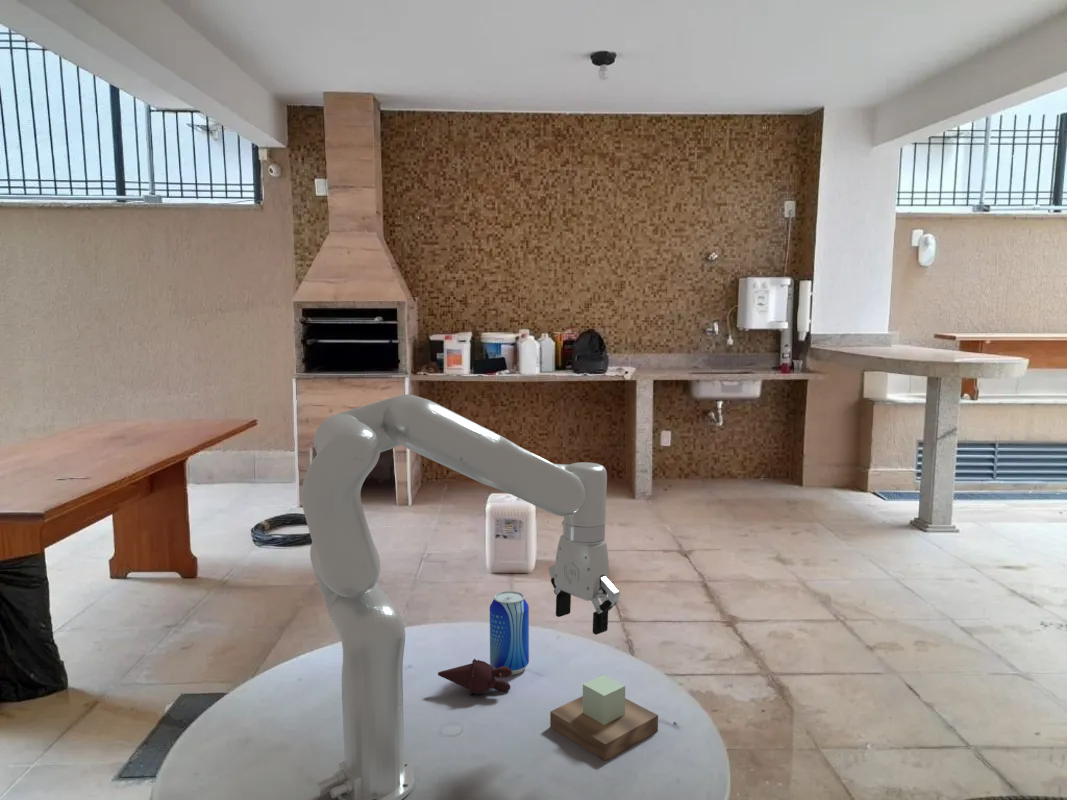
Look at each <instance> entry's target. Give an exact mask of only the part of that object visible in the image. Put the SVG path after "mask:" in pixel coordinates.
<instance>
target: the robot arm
mask: <svg viewBox="0 0 1067 800" xmlns="http://www.w3.org/2000/svg"><path fill="white" fill-rule="evenodd" d="M399 446H402V447H404V448H406V449H408V450H409V451H412V452H413V453H416V454H417V455H420V456H422V457H424V458H426V459H429V460H431V461H433V462H436V463H437V464H440V465H442V466H445V467H446V468H449V469H450V470H453V471H454V472H457V473H459V474H462V475H463V476H465V477H468V478H470V479H472V480H474V481H476V482H478V483H480V484H483V485H485V486H488V487H490V488H494V489H497V490H499V491H502V492H505V493H507V494H510V495H511V496H513V497H516V498H518V499H520V500H522V501H525V502H527V503H528V504H530V505H533V506H535V507H538V508H539V509H542V510H543V511H546V512H548V513H550V514H551V515H553V516H557V517H563V519H562V522H561V525H562V527H563V528H562V529H563V530H562V534H561V535H560V537H559V541H558V543H557V548H556V556H555V564H554V565H551V566H548V573H549V576H550V578H551V579H550V582H551V585H552V587H553V588H554V589H553V594H554V595H555V596H556V597H555V616H556V617H557V618H561V617H563V616H567V615H569V614H570V613H571V606H572V605H571V604H572V603H571V602H572V601H571V600H572V599H571V598H572V596H574V597H575V598H579V599H581V600H584V601H587V602H588V601H589V602H590V601H591V602H592V604H593V607H594V609H595V611H593V613H592V614H593V615H592V634H593V635H595V636H596V635H598V634H602V633H605V632H607V631H608V628H609V627H608V625H609V611H611V610H612V608H613V607H614V606H616V603H617V601H618V599H619V597H620V594H621V593H620V591H619V590H618V589H617V588H616V587H615V585H614V584H613V583H612V582H611V580H610V567H609V565H610V564H609V553H608V545H607V542H606V538H605V537H606V516H607V515H606V512H607V511H606V510H607V485H608V484H607V483H608V473H607V470H606V467H605V466H604V465H601V464H599V463H597V462H596V463H595V462H584V461H583V462H581V461H579V462H573V463H571V464H569V463H568V464H564V463H561V464H560V463H553V462H551V461H549V460H547V459H545V458H543V457H542V456H539V455H537V454H535V453H533V452H531V451H529V450H527V449H525V448H523V447H521V446H519V445H518V444H516V443H514V442H512V441H511V440H509V439H507V438H506V437H504V436H502V435H500V434H498V433H497V432H494V431H492V430H490V429H488V428H486V427H484V426H482V425H480V424H479V423H476V422H474V421H472V420H470V419H469V418H466V417H464V416H462V415H460V414H458V413H456V412H455V411H453V410H450V409H448V408H446V407H444V406H443V405H441V404H439V403H437V402H434V401H433V400H430V399H427V398H424V397H420V396H419V395H414V394H400V395H395V396H391V397H389V398H385V399H383V400H379V401H375V402H373V403H369V404H365V405H362V406H360V407H355V408H353V409H349V410H346V411H342V412H339V413H336V414H334V415H331V416H330V417H327V418H326V419H324V420H323V421H322V422H321V423H320V424H319V425H318V426H317V428H316V430H315V433H314V437H313V447H314V450H315V452H316V455H315V456H314V458H313V459H312V461H311V462H310V464H309V466H308V468H307V471H306V473H305V475H304V476H305V477H304V478H303V482H302V486H301V505H302V509H303V510H302V511H303V513H304V516H305V521H306V524H307V528H308V531H309V536H310V539H311V545H310V551H309V555H310V556H309V557H310V562H311V566H312V569H313V571H314V575H315V578H316V581H317V584H318V586H319V587H318V588H319V589H320V592H321V595H322V597H323V601H324V604H325V607H326V609H327V612H328V614H329V619H330V621H331V622H332V624H333V627H334V628H335V631H336V633H337V634H338V638H339V639H340V642H341V647H342V665H341V703H342V728H343V729H342V731H343V758H344V759H343V761H341V762H339V763H337V764H338V765H337V766H338V767H337V768H338V769H337V771H335V772H334V773H333V775H332V776H330V777H328V778H327V777H326V778H324V779H322V780H320V781H317V782H315V785H314V788H315V793H316V794H317V796H322V795H324V794H327V793H330V796H331V799H335V798H337V799H338V800H403V799H404V798H406V797H407V796H408V795H409V794H410V792H411V791H412V790H413V787H414V785H415V771H414V768H413V767H412V766H411V764H409V762H407V761H405V730H404V729H405V727H404V725H405V724H404V723H405V722H404V689H403V688H404V685H403V682H404V679H403V666H404V654H405V652H404V651H405V646H406V645H405V644H406V628H405V623H404V620H403V618H402V615H401V612H400V611H399V610H398V608H397V607H396V605H395V604H394V603H393V601H392V600H391V599H390V598H389V596H387V595H386V593H385V592H384V590H383V588H382V585H381V582H380V580H379V578H380V573H381V559H380V555H379V552H378V549H377V547H376V545H375V542H374V540H373V536H372V534H371V531H370V528H369V525H368V522H367V519H366V516H365V511H364V507H363V503H362V496H361V493H362V491H361V490H362V487H363V484H364V482H365V481H366V478H367V477H368V476H369V474H370V473H371V472H372V471H373V469H374V468H375V467H376V466H377V464H378V461H379V459H380V456H381V453H384V452H386V451H389V450H392V449H394V448H397V447H399ZM599 599H600V601H601V603H600V601H599Z"/></svg>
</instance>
